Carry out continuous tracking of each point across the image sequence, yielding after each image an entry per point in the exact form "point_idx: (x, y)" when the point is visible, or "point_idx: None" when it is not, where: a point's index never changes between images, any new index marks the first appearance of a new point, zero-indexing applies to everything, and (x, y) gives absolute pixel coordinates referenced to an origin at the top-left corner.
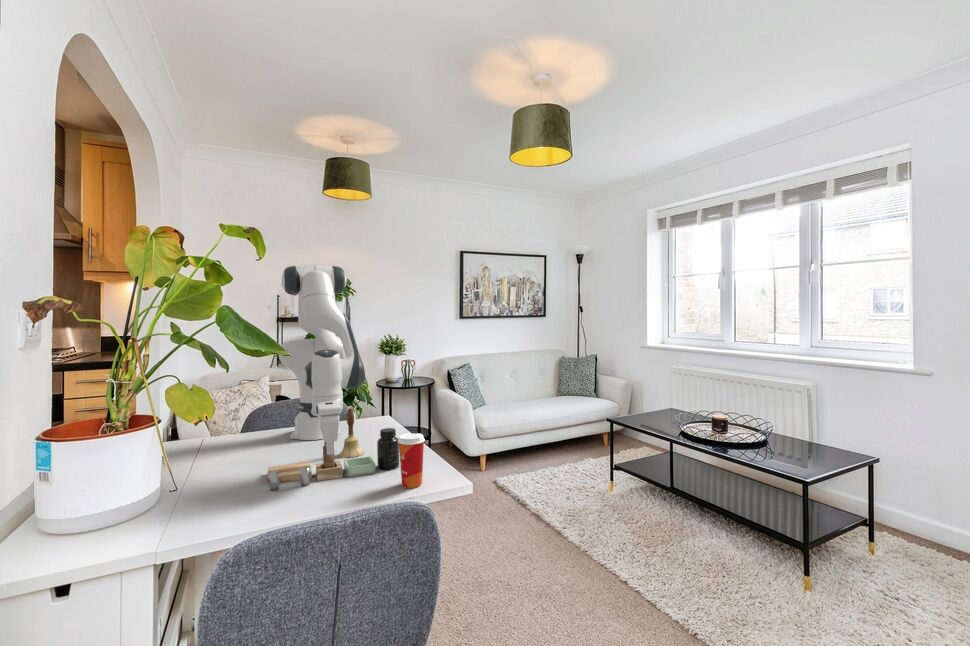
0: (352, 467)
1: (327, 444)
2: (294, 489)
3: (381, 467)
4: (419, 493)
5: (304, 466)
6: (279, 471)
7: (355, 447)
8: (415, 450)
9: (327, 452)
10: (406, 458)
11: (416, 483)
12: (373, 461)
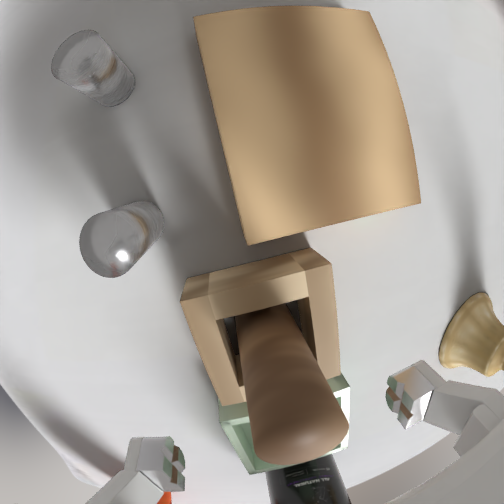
0: (225, 432)
1: (94, 502)
2: (94, 185)
3: None
4: (103, 484)
5: (134, 237)
6: (295, 52)
7: (467, 363)
8: None
9: (129, 449)
10: None
11: None
12: (277, 468)
